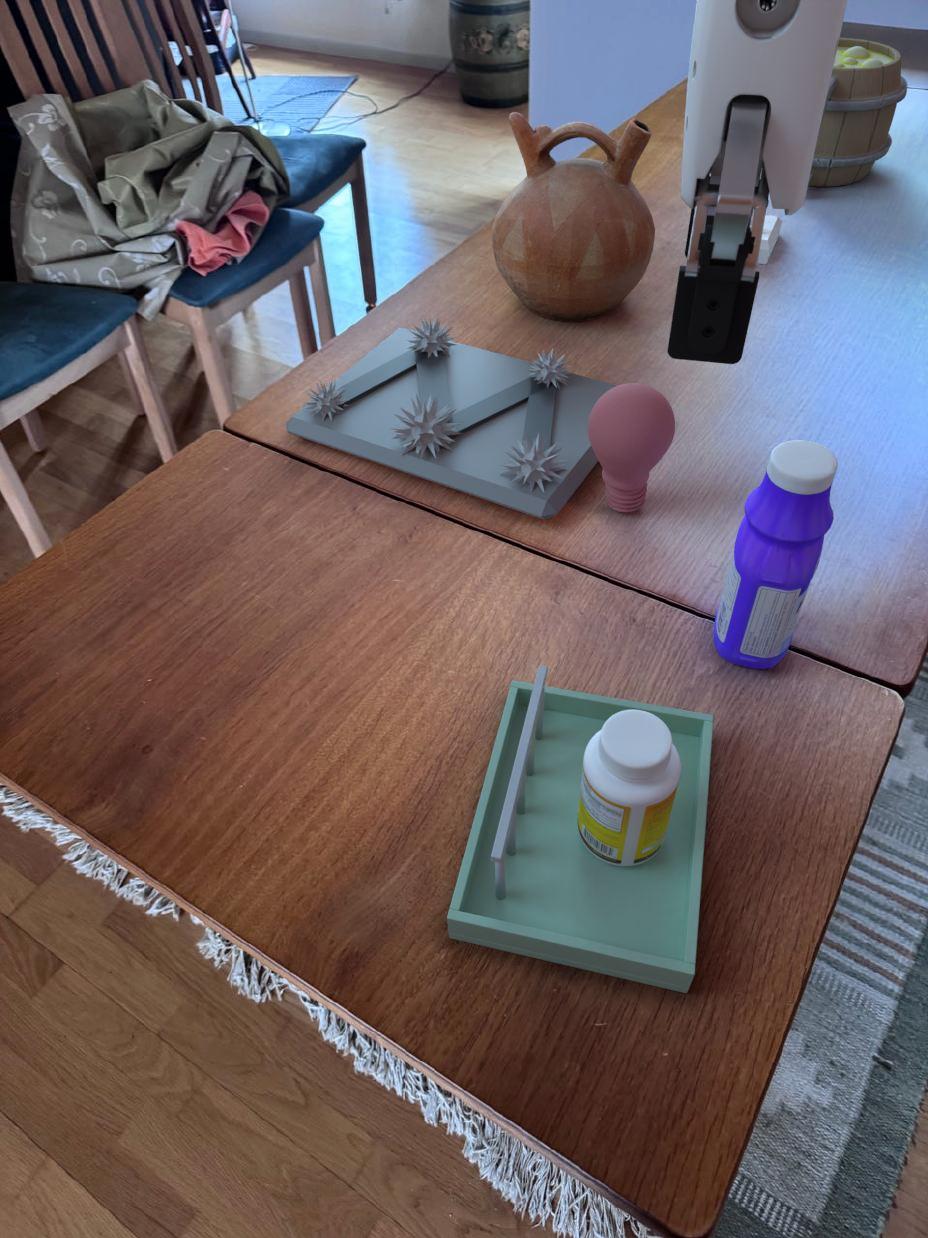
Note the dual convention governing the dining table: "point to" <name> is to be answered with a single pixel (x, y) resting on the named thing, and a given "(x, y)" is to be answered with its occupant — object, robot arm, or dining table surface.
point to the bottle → (776, 555)
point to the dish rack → (580, 848)
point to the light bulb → (630, 440)
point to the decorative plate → (462, 418)
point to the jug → (574, 223)
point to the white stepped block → (769, 237)
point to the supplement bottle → (628, 788)
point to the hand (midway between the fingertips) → (709, 305)
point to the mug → (857, 112)
